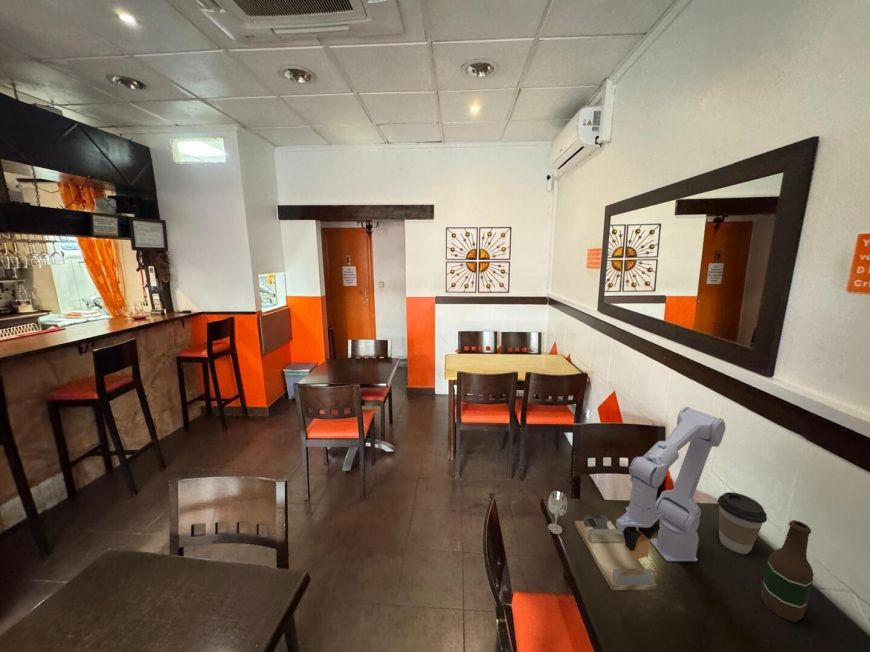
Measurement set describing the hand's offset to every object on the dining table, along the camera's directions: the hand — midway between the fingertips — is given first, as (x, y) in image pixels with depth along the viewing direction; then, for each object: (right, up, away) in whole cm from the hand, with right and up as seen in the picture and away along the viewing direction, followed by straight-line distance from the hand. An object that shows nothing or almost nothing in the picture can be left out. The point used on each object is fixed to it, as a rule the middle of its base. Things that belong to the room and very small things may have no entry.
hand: (636, 546), depth 93 cm
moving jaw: (-3, -5, +14) cm, 15 cm away
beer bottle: (+33, -11, -7) cm, 35 cm away
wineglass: (-16, -6, +18) cm, 25 cm away
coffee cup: (+38, -8, +13) cm, 41 cm away
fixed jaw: (-2, -8, -2) cm, 9 cm away
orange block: (0, -2, 0) cm, 2 cm away
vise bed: (-3, -8, +7) cm, 11 cm away
